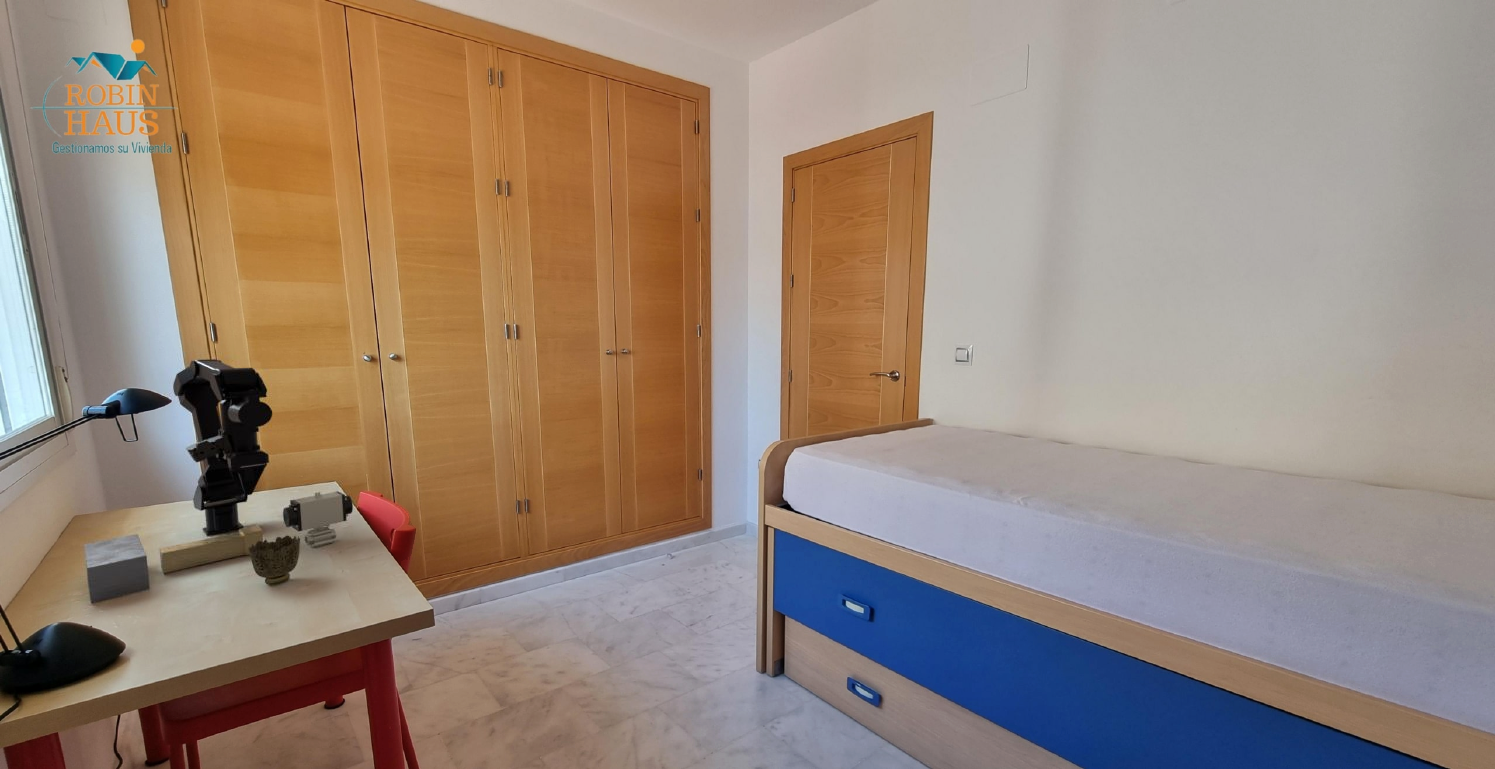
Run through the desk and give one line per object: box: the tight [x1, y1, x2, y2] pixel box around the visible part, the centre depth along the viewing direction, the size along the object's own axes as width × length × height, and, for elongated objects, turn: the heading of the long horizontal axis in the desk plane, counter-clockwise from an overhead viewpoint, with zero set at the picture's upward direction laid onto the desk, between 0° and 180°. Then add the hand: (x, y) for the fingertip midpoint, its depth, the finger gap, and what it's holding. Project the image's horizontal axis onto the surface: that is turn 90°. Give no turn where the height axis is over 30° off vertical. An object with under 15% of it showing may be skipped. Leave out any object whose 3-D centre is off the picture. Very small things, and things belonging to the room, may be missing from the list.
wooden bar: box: [158, 524, 264, 574], centre depth 114 cm, size 15×5×5 cm, turn 142°
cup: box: [249, 534, 301, 586], centre depth 103 cm, size 8×7×8 cm
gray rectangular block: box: [83, 533, 151, 605], centre depth 103 cm, size 7×18×6 cm, turn 52°
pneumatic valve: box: [282, 491, 354, 548], centre depth 123 cm, size 6×12×12 cm, turn 144°
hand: (244, 491), depth 123 cm, fingers open, 9 cm apart
